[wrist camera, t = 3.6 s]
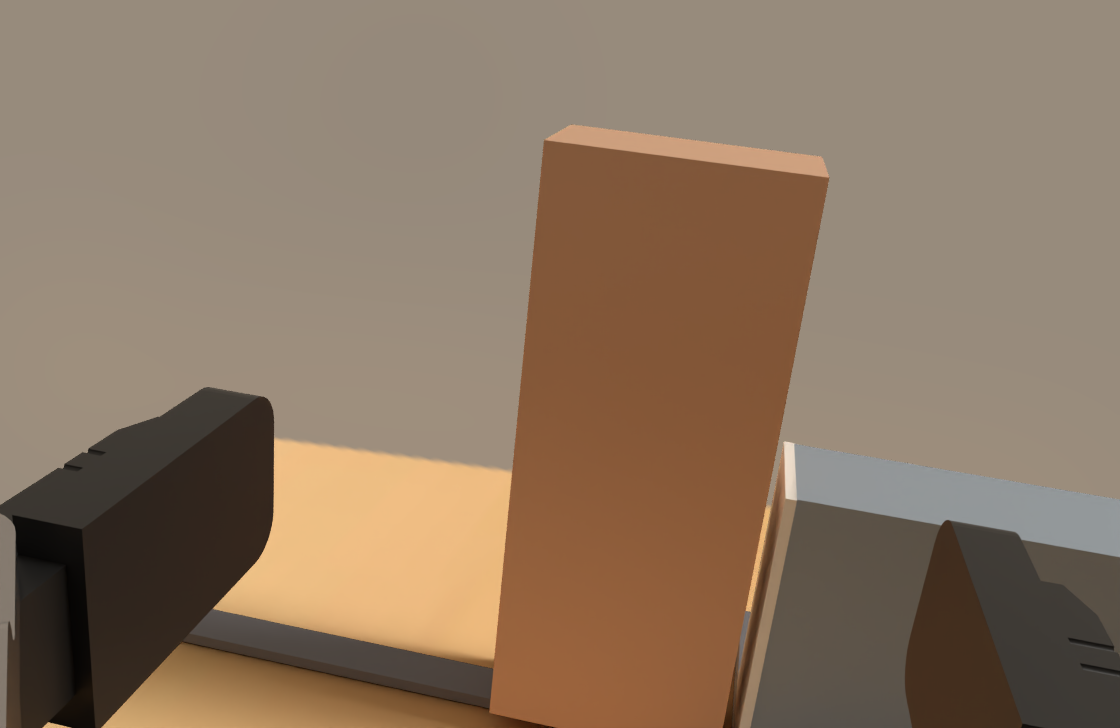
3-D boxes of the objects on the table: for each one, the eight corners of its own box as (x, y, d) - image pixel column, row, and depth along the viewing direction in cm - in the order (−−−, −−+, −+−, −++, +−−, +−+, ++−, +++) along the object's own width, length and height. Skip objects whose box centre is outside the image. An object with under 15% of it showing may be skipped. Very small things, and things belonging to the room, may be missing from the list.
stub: (721, 685, 27) (822, 156, 22) (716, 762, 24) (829, 177, 19) (517, 642, 28) (571, 124, 23) (489, 712, 25) (543, 140, 20)
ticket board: (1317, 748, 28) (1429, 497, 25) (1587, 1112, 19) (1808, 777, 16) (196, 525, 33) (191, 295, 30) (-29, 725, 24) (-65, 420, 21)
